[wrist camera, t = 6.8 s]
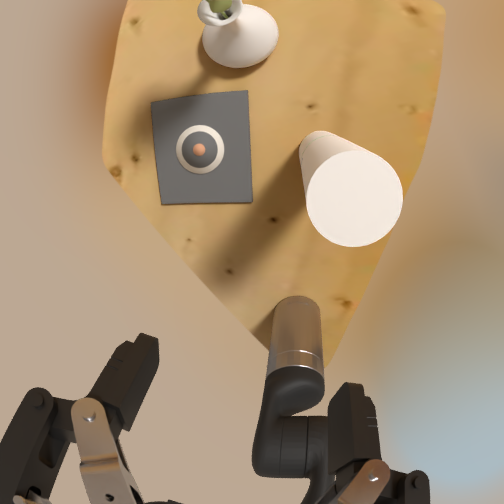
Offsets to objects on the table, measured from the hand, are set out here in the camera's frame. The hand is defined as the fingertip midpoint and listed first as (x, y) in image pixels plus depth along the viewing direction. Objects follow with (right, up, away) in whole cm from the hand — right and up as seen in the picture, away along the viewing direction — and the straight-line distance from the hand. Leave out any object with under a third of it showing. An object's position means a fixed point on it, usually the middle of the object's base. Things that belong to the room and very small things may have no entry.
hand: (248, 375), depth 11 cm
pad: (-8, +22, +32) cm, 39 cm away
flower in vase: (-2, +38, +22) cm, 44 cm away
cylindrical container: (+11, +20, +30) cm, 38 cm away
